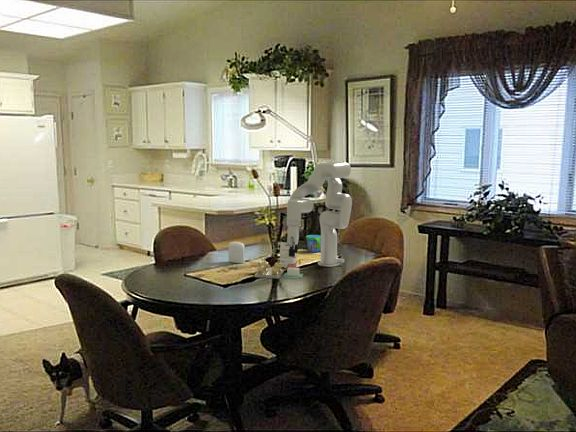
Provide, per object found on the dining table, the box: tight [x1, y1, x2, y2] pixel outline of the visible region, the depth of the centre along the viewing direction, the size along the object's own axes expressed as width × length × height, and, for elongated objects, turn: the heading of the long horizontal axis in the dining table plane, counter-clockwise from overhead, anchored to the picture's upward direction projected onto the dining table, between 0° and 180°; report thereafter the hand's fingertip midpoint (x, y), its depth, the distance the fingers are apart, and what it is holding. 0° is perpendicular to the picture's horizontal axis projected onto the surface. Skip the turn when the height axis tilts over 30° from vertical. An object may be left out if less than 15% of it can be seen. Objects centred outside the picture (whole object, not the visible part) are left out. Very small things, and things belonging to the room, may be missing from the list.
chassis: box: [254, 259, 285, 279], centre depth 303 cm, size 14×13×7 cm
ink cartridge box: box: [279, 241, 297, 269], centre depth 320 cm, size 9×5×15 cm, turn 62°
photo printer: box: [227, 241, 246, 264], centre depth 331 cm, size 10×4×12 cm, turn 61°
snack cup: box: [305, 234, 321, 253], centre depth 366 cm, size 16×10×10 cm
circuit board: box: [282, 267, 304, 280], centre depth 301 cm, size 12×10×5 cm
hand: (293, 254), depth 300 cm, fingers open, 9 cm apart
